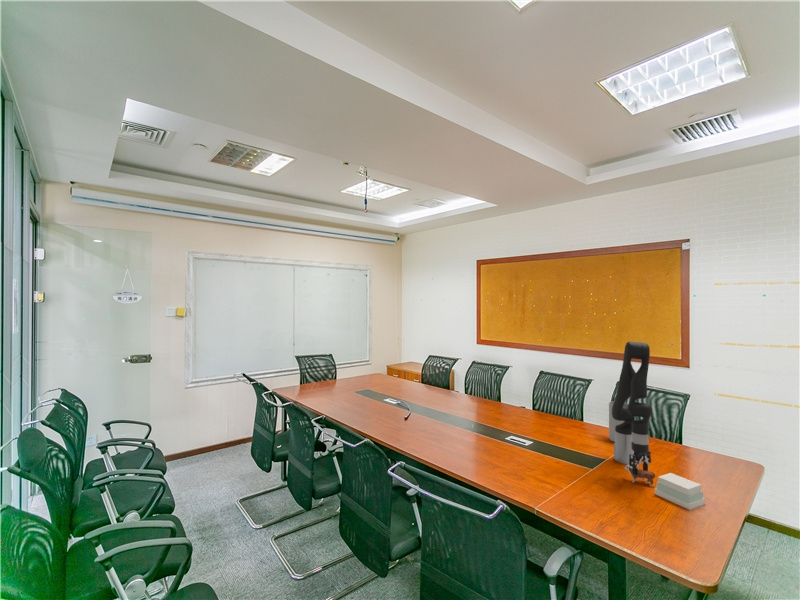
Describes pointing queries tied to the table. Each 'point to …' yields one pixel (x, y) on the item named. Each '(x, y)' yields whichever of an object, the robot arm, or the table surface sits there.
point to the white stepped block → (680, 491)
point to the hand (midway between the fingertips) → (640, 473)
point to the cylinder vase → (613, 422)
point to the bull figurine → (641, 474)
